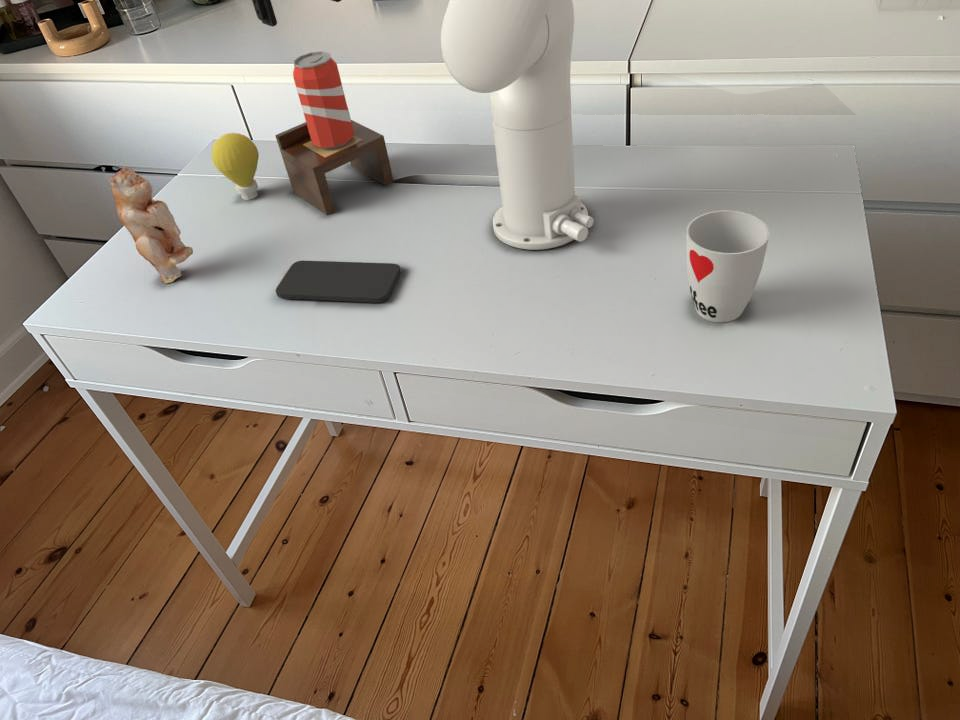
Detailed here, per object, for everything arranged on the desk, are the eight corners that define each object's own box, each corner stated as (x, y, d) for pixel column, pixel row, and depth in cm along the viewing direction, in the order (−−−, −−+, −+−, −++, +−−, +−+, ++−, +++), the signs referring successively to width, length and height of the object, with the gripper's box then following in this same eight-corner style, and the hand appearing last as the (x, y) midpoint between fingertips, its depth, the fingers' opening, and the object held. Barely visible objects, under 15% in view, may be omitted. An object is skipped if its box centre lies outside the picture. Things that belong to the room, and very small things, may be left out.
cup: (673, 291, 88) (677, 216, 82) (743, 281, 88) (753, 205, 82) (693, 336, 82) (699, 259, 76) (769, 325, 82) (781, 247, 76)
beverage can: (363, 133, 113) (343, 50, 105) (340, 153, 108) (318, 69, 101) (328, 129, 115) (306, 49, 107) (304, 150, 111) (280, 67, 103)
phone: (384, 299, 93) (272, 294, 96) (386, 304, 93) (273, 299, 97) (402, 263, 98) (294, 259, 102) (403, 268, 99) (296, 264, 102)
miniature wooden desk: (394, 181, 116) (380, 122, 110) (326, 215, 111) (309, 155, 105) (358, 162, 123) (344, 105, 116) (293, 193, 118) (274, 135, 111)
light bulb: (280, 189, 119) (260, 128, 113) (249, 210, 115) (226, 149, 109) (250, 181, 122) (228, 122, 116) (219, 202, 118) (195, 142, 112)
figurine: (189, 287, 102) (142, 186, 92) (139, 286, 104) (87, 187, 94) (210, 260, 106) (167, 161, 96) (161, 259, 108) (115, 162, 98)
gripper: (204, -123, 83) (256, 39, 94) (338, -160, 90) (373, -5, 101) (177, -126, 87) (230, 29, 99) (307, -161, 94) (343, -13, 106)
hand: (302, 11), depth 100 cm, fingers open, 9 cm apart
